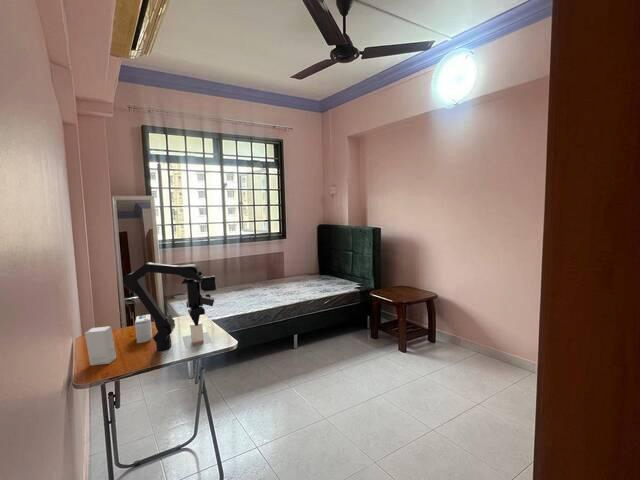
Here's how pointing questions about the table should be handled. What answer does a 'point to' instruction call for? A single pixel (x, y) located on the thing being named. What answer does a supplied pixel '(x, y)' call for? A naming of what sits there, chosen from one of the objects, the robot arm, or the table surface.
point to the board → (187, 337)
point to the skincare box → (100, 345)
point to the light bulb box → (143, 328)
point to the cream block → (196, 333)
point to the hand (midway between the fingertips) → (196, 325)
